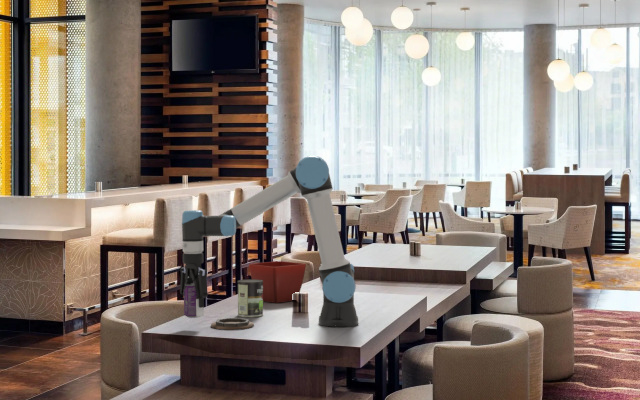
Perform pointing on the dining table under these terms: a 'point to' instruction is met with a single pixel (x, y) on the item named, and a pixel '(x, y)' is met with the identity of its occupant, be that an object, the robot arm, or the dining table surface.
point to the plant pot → (278, 279)
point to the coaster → (232, 324)
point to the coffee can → (250, 298)
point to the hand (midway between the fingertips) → (194, 315)
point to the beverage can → (190, 300)
